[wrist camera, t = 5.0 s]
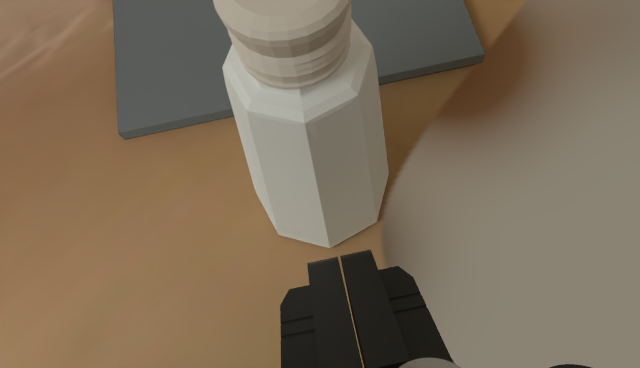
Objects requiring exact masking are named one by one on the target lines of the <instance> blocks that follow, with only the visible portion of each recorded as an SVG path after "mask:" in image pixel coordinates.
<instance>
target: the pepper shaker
mask: <svg viewBox="0 0 640 368" xmlns="http://www.w3.org/2000/svg"><path fill="white" fill-rule="evenodd" d="M213 3H214V7H215V9H216V11H217V13H218V15H219V17H220V18H221V20H222V22H223V23H224V25H225V26H226V28H227V29H228V34H229V36H230V38H231V41H232V46H231V48H230V50H229V53H228V55H227V57H226V60H225V62H224V64H223V67H222V69H223V74H224V79H225V85H226V88H227V92H228V96H229V99H230V103H231V106H232V110H233V113H234V117H235V121H236V124H237V128H238V131H239V135H240V138H241V142H242V145H243V149H244V153H245V156H246V160H247V163H248V167H249V170H250V174H251V178H252V181H253V185H254V188H255V192H256V194H257V196H258V197H259V199H260V201H261V203H262V205H263V207H264V209H265V210H266V212H267V214H268V216H269V218H270V220H271V222H272V223H273V225H274V227H275V229H276V231H277V233H278V235H281V236H285V237H289V238H292V239H296V240H300V241H304V242H308V243H311V244H315V245H319V246H323V247H326V248H332V247H333V246H335V245H337V244H339V243H340V242H342V241H344V240H346V239H348V238H349V237H351V236H353V235H355V234H356V233H358V232H360V231H362V230H364V229H365V228H367V227H369V226H371V225H372V224H374V223H376V222H377V219H378V215H379V211H380V207H381V203H382V199H383V195H384V191H385V187H386V184H387V180H388V176H389V171H388V162H387V153H386V144H385V136H384V127H383V118H382V110H381V101H380V92H379V84H378V75H377V66H376V61H375V56H374V51H373V46H372V45H371V43H370V42H369V41H368V39H367V38H366V37H365V35H364V34H363V33H362V31H361V30H360V29H359V27H358V26H357V25H356V23H355V22H354V21H353V19H352V18H351V0H213Z"/></svg>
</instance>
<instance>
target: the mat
mask: <svg viewBox="0 0 640 368" xmlns="http://www.w3.org/2000/svg"><path fill="white" fill-rule="evenodd" d="M113 18H114V42H115V66H116V90H117V114H118V133H119V134H120V135H121V136H122V137H123V138H124V139H129V138H134V137H139V136H143V135H148V134H153V133H157V132H162V131H166V130H171V129H176V128H180V127H185V126H190V125H194V124H199V123H204V122H208V121H213V120H217V119H222V118H227V117H231V116H234V113H233V110H232V106H231V103H230V99H229V96H228V92H227V88H226V85H225V79H224V74H223V69H222V67H223V64H224V62H225V60H226V57H227V55H228V53H229V50H230V48H231V46H232V41H231V38H230V36H229V34H228V29H227V28H226V26H225V25H224V23H223V22H222V20H221V18H220V17H219V15H218V13H217V11H216V9H215V7H214V3H213V0H113ZM351 18H352V19H353V21H354V22H355V23H356V25H357V26H358V27H359V29H360V30H361V31H362V33H363V34H364V35H365V37H366V38H367V39H368V41H369V42H370V43H371V45H372V46H373V51H374V56H375V61H376V66H377V75H378V84H379V85H380V84H384V83H389V82H394V81H398V80H403V79H407V78H412V77H417V76H421V75H426V74H431V73H435V72H440V71H445V70H449V69H454V68H458V67H463V66H468V65H472V64H477V63H481V62H482V61H483V59H484V56H485V52H484V49H483V47H482V45H481V42H480V40H479V37H478V35H477V32H476V30H475V27H474V25H473V22H472V20H471V18H470V15H469V13H468V10H467V8H466V5H465V3H464V0H351Z"/></svg>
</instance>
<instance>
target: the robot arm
mask: <svg viewBox="0 0 640 368" xmlns="http://www.w3.org/2000/svg"><path fill="white" fill-rule="evenodd" d="M340 257H341V262H342V267H343V272H344V277H345V282H346V286H347V291H348V296H349V301H350V306H351V310H352V315H353V320H354V324H355V329H356V333H357V338H358V342H359V347H360V351H361V355H362V360H363V364H364V368H460V367H459V366H457V365H456V364H455V363H454V362H453V360H452V359H451V357H450V355H449V353H448V350H447V348H446V346H445V344H444V342H443V340H442V338H441V336H440V334H439V332H438V329H437V327H436V325H435V323H434V321H433V319H432V316H431V314H430V312H429V310H428V309H427V307H426V304H425V302H424V299H423V297H422V295H421V294H420V291H419V289H418V287H417V285H416V283H415V280H414V278H413V277H412V276H411V275H410V274H408V273H407V272H405V271H404V270H403V269H401V268H400V267H398V266H396V267H391V268H386V269H382V270H378V269H377V266H376V263H375V260H374V257H373V255H372V252H371V250H367V251H362V252H357V253H353V254H348V255H343V256H340ZM308 274H309V283H310V285H308V286H303V287H298V288H294V289H289V291H288V293H287V294H286V296H285V298H284V300H283V302H282V304H281V305H280V311H281V368H363V367H362V363H361V358H360V354H359V349H358V345H357V340H356V336H355V332H354V327H353V323H352V318H351V314H350V309H349V305H348V301H347V296H346V292H345V287H344V283H343V278H342V274H341V270H340V265H339V261H338V257H334V258H330V259H325V260H320V261H316V262H311V263H308ZM550 368H591V367H587V366H582V365H574V364H570V365H569V364H565V365H557V366H553V367H550Z"/></svg>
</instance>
